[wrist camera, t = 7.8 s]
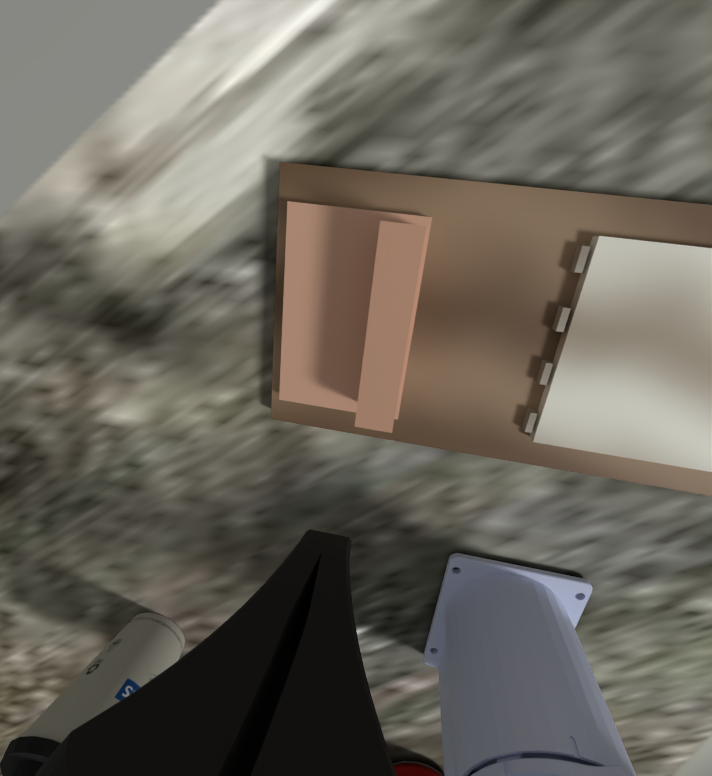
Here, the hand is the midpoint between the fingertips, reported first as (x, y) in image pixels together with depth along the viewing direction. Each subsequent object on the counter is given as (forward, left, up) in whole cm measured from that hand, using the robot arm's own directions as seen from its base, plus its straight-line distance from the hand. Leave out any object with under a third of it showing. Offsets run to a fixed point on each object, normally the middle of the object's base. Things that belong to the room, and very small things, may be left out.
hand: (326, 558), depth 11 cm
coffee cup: (-21, +14, -10) cm, 27 cm away
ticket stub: (+6, +1, -8) cm, 10 cm away
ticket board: (+6, -7, -9) cm, 13 cm away
